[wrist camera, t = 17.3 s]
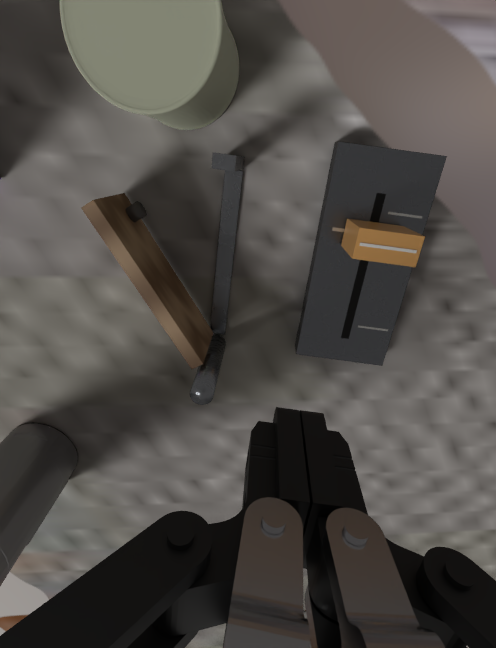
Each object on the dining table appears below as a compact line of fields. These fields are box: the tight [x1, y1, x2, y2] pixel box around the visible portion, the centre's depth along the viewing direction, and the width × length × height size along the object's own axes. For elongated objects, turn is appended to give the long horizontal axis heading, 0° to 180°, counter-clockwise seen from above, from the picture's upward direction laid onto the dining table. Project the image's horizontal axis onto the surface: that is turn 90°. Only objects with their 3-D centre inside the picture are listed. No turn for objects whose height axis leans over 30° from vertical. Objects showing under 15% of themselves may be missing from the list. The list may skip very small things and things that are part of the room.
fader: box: [341, 219, 425, 267], centre depth 31 cm, size 2×5×5 cm, turn 83°
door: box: [82, 193, 213, 369], centre depth 34 cm, size 16×2×7 cm, turn 29°
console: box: [295, 142, 446, 366], centre depth 36 cm, size 20×9×2 cm, turn 173°
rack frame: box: [190, 153, 244, 405], centre depth 33 cm, size 20×2×10 cm, turn 173°
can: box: [60, 0, 239, 130], centre depth 26 cm, size 9×9×12 cm
